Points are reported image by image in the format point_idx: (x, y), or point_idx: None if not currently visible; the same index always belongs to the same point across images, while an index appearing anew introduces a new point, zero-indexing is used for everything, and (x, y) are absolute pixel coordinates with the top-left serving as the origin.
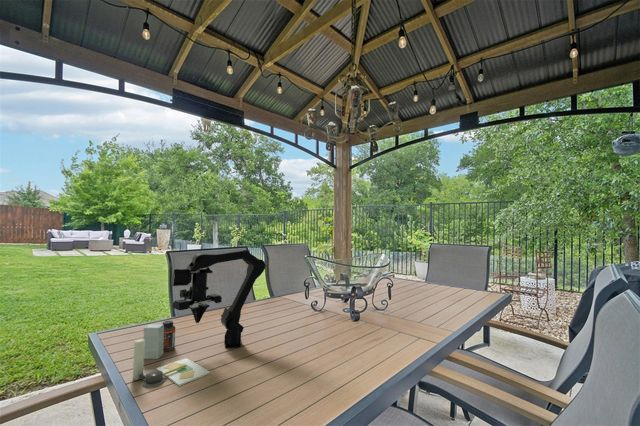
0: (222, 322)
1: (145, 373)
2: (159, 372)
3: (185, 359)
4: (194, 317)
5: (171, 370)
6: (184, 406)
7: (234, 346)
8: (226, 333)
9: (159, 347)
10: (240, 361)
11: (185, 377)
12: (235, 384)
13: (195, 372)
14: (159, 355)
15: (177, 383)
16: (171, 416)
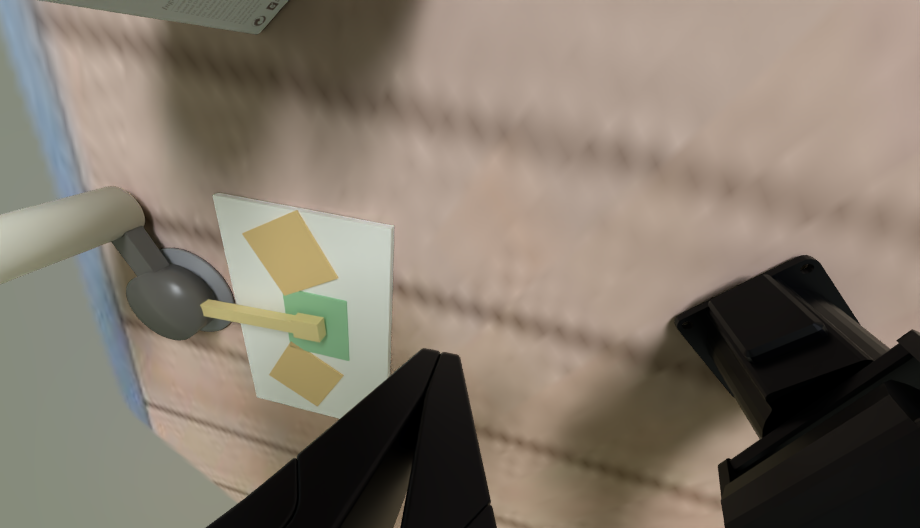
0: (832, 467)
1: (135, 247)
2: (183, 314)
3: (376, 243)
4: (350, 424)
5: (245, 323)
6: (240, 465)
7: (711, 370)
8: (757, 387)
9: (197, 12)
10: (547, 469)
11: (291, 384)
12: (399, 518)
13: (341, 387)
14: (258, 21)
15: (255, 386)
16: (204, 464)
